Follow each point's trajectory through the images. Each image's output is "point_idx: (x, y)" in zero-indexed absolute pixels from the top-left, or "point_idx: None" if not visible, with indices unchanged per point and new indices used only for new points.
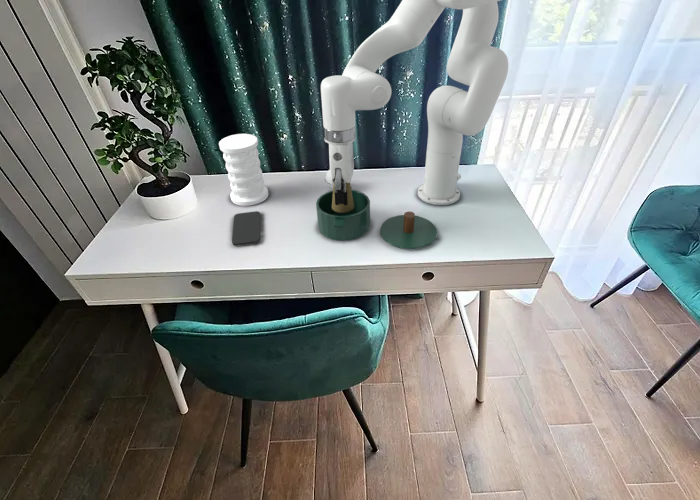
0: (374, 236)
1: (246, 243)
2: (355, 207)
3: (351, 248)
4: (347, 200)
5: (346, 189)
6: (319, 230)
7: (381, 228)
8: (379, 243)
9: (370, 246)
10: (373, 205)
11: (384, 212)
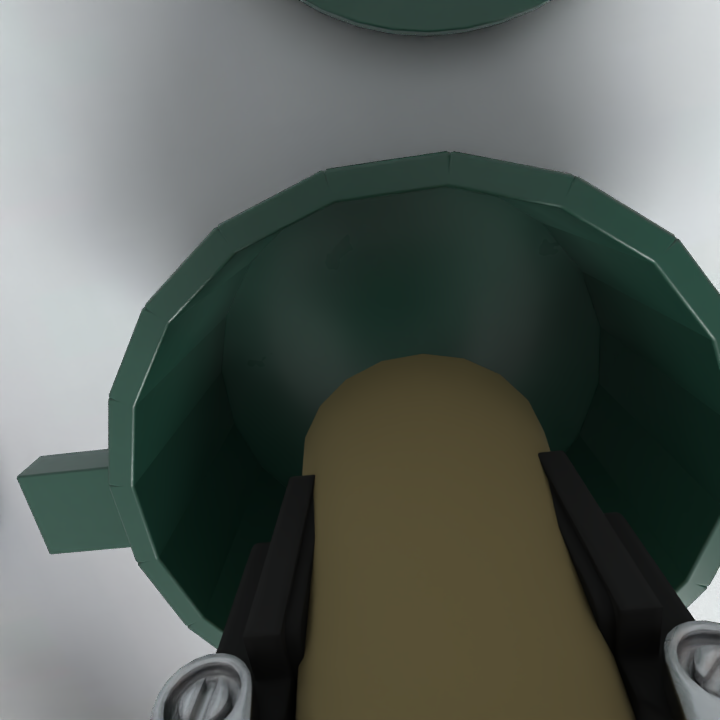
0: (528, 81)
1: None
2: (211, 343)
3: (708, 245)
4: (562, 481)
5: (591, 637)
6: None
7: (454, 15)
8: (635, 4)
9: (682, 85)
10: (50, 201)
11: (123, 66)
